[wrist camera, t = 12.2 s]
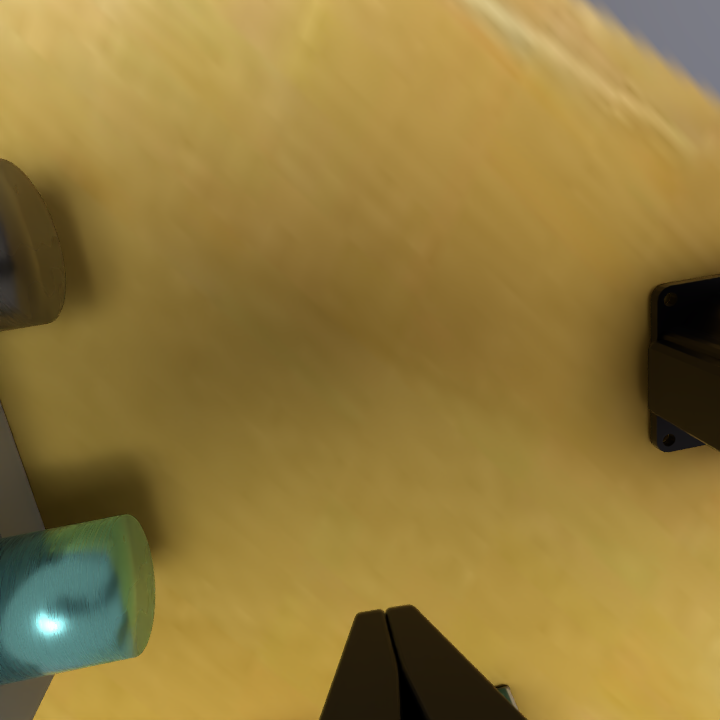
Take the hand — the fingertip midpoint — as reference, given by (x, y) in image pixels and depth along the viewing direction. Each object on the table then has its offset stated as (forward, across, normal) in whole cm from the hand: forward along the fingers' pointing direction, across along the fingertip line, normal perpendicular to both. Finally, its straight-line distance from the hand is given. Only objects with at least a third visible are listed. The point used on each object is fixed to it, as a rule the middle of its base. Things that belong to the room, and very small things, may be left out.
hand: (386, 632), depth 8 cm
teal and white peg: (+10, +13, +5) cm, 17 cm away
